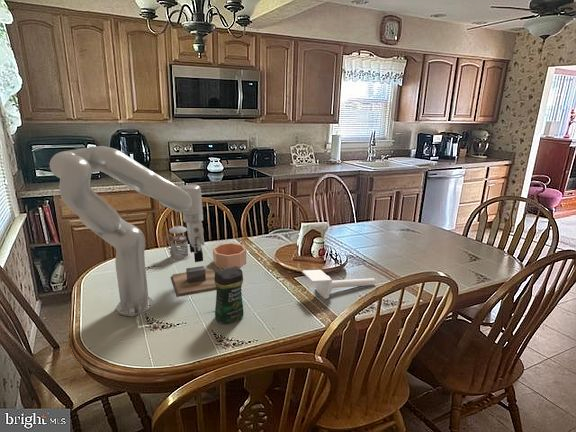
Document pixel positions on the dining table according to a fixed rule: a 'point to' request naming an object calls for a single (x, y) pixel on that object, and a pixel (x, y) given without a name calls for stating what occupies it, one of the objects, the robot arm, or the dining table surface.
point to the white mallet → (333, 282)
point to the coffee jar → (229, 295)
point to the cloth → (194, 280)
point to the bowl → (229, 255)
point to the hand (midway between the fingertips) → (196, 256)
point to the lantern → (178, 244)
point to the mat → (186, 294)
